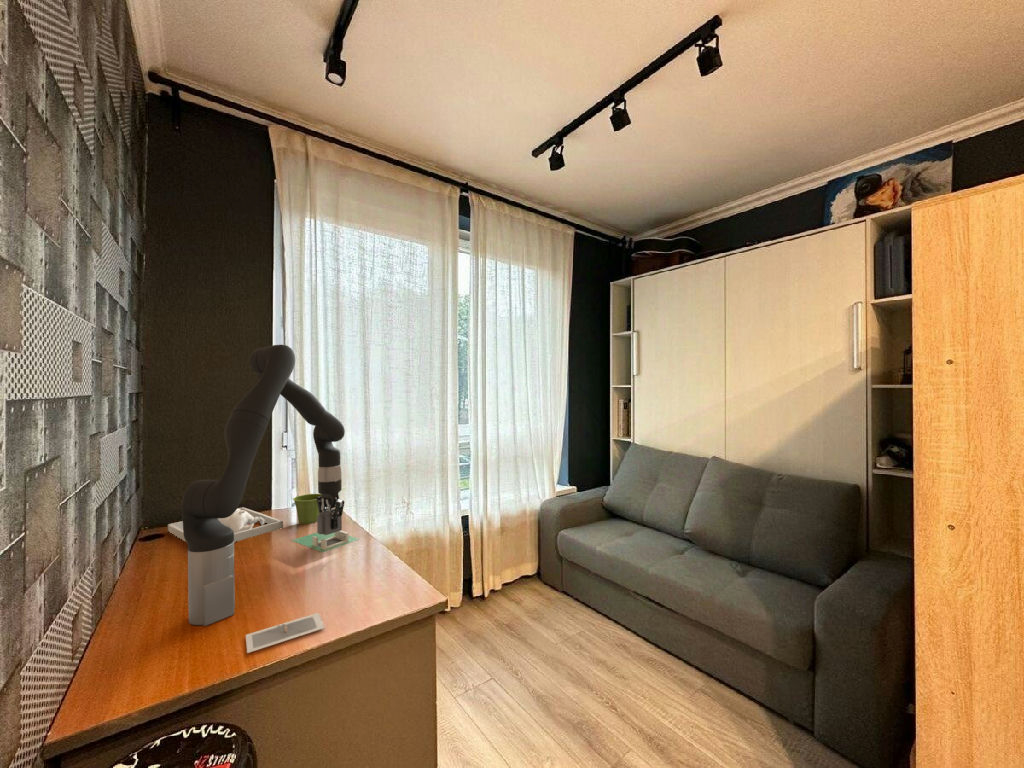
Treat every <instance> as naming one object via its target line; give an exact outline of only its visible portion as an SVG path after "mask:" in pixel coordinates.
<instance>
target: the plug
mask: <svg viewBox="0 0 1024 768" xmlns="http://www.w3.org/2000/svg"><path fill="white" fill-rule="evenodd" d="M333 515H334V511H333ZM342 516H343V515H342ZM342 516H340V517H338V528H337V529H333V530H332V529H331V516H330V512H328V510H327V511H325V512H320V513H319V515H318V516H317V523H316V524H317V526H316V527H317V528H316V530H317V531H316V532H317V533H318V534H323V535H328V534H331V533H334V532H337V531H340V530H341V531H343V529H342V528H343V527H342V526H343V525H342V520H343V518H342Z"/></svg>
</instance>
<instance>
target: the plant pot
mask: <svg viewBox="0 0 1024 768" xmlns="http://www.w3.org/2000/svg"><path fill="white" fill-rule="evenodd" d="M321 495H322V494H319V493H309V494H308V493H307V494H302V495H298V496H294V497H293V499H292V500H293V501H294V506H295V508H296V514H297V518H298V524H300V525H309V524H313V523H316V522H317V516H318V515H319V510H318V504H317V499H316V498H317V497H319V496H321ZM321 503H322V502H321ZM321 507H322V506H321Z"/></svg>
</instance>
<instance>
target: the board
mask: <svg viewBox="0 0 1024 768" xmlns="http://www.w3.org/2000/svg"><path fill="white" fill-rule="evenodd" d="M349 534H350V533H349V532H346V531H344V530H340V531H337V532H334V533H331V534H328V535H323V534H318V533H317V531H316V532H313V533H310V534H308V535H304V536H301V537H297V538H295V539H291V542H295V543H297V544H299V545H303V546H305V547H308V548H310V549H312V550H314V551H317V552H320V553H322V554H323V553H325V552H328V551H331V550H333V549H337V548H339V547H342V546H345V545H347V544H350V543H353V542H355V541H358V540H360V538H358V537H354V536H351V535H349Z"/></svg>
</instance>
